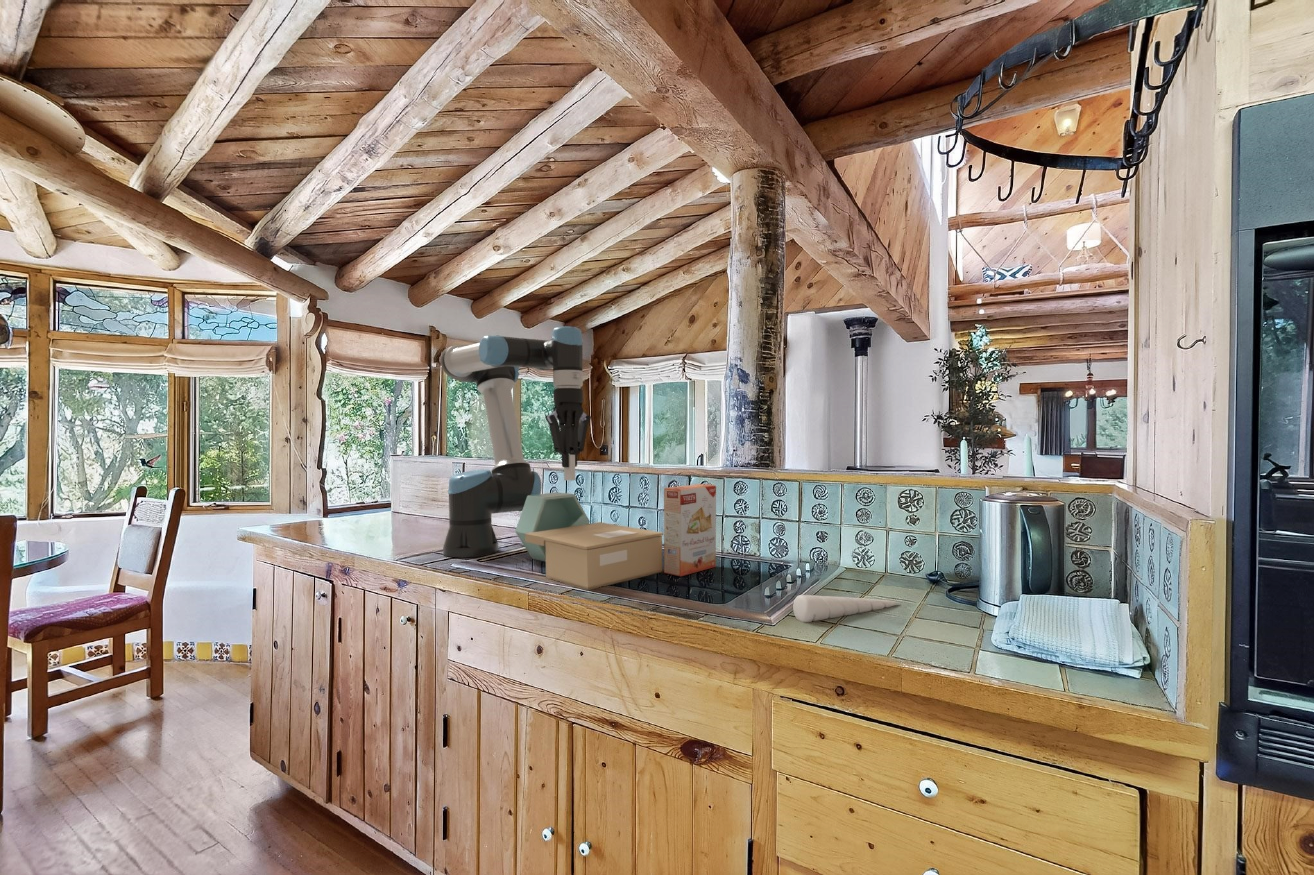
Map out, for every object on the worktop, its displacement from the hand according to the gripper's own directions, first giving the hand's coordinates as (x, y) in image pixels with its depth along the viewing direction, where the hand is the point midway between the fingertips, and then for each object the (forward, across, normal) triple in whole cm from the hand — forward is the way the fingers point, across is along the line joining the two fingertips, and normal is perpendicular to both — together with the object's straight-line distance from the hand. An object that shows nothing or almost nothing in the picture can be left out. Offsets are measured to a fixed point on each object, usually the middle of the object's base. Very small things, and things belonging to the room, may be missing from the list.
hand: (569, 480), depth 154 cm
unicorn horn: (+23, +13, -70) cm, 74 cm away
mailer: (+22, 0, -14) cm, 26 cm away
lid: (+15, 0, -9) cm, 17 cm away
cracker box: (+23, +18, -26) cm, 38 cm away
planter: (+22, +3, +12) cm, 25 cm away
